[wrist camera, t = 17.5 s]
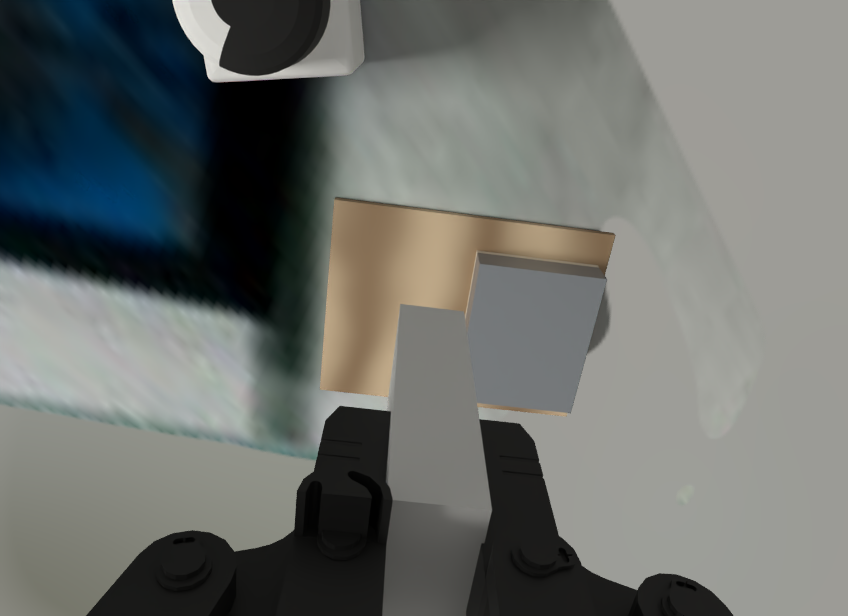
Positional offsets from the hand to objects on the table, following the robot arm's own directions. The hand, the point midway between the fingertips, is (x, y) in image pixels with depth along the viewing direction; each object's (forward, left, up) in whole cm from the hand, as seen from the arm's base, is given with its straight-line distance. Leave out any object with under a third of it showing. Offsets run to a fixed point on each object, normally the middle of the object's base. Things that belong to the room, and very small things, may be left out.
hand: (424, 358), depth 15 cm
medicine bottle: (-8, +7, -27) cm, 29 cm away
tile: (+4, -11, -25) cm, 27 cm away
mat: (+4, -11, -26) cm, 29 cm away
